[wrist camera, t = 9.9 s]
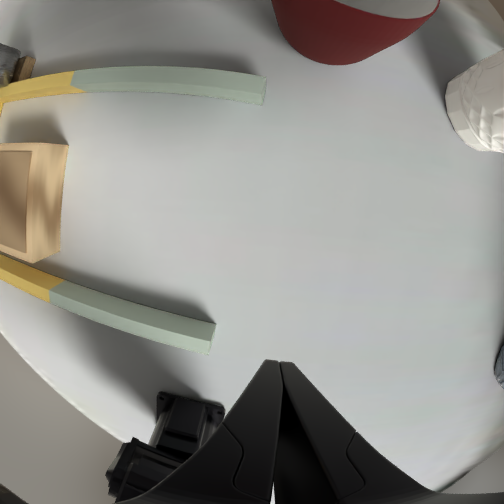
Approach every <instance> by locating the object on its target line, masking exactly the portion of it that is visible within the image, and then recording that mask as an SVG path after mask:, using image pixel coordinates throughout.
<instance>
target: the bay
mask: <svg viewBox="0 0 504 504" xmlns="http://www.w3.org/2000/svg"><path fill="white" fill-rule="evenodd" d="M265 90H266V77H263V76H257V75H252V74H245V73H239V72H232V71H224V70H215V69H205V68H193V67H176V66H121V67H105V68H94V69H84V70H76V71H69V72H62V73H56V74H50V75H45V76H40V77H35V78H31V79H26V80H22V81H18V82H14V83H10V84H8V86H6V87H3V88H0V115H1V111H2V107H3V103H6V102H11V101H16V100H22V99H28V98H35V97H42V96H50V95H59V94H70V93H83V92H108V91H136V92H161V93H176V94H188V95H198V96H206V97H214V98H222V99H228V100H235V101H241V102H247V103H252V104H258V105H262V103H263V99H264V94H265ZM0 279H1V280H3V281H5V282H7V283H9V284H11V285H13V286H15V287H17V288H19V289H21V290H23V291H25V292H27V293H29V294H31V295H33V296H35V297H38V298H40V299H42V300H44V301H46V302H49V303H51V304H53V305H56V306H58V307H60V308H63V309H65V310H68V311H70V312H72V313H75V314H77V315H80V316H83V317H85V318H88V319H90V320H93V321H96V322H98V323H101V324H104V325H107V326H110V327H113V328H115V329H118V330H121V331H124V332H127V333H130V334H133V335H137V336H140V337H143V338H146V339H150V340H153V341H156V342H160V343H163V344H167V345H170V346H174V347H178V348H182V349H185V350H189V351H193V352H197V353H201V354H205V355H208V354H209V351H210V348H211V345H212V341H213V338H214V333H215V328H216V324H213V323H209V322H204V321H200V320H196V319H192V318H188V317H184V316H180V315H176V314H173V313H169V312H165V311H161V310H158V309H154V308H151V307H147V306H144V305H140V304H137V303H133V302H130V301H127V300H123V299H120V298H117V297H114V296H111V295H107V294H104V293H101V292H98V291H95V290H92V289H89V288H86V287H83V286H80V285H78V284H75V283H72V282H69V281H66V280H64V279H61V278H58V277H55V276H53V275H50V274H48V273H45V272H42V271H40V270H37V269H35V268H32V267H30V266H27V265H25V264H23V263H20V262H18V261H15V260H13V259H11V258H8V257H6V256H4V255H2V254H0Z"/></svg>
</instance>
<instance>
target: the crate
mask: <svg viewBox="0 0 504 504" xmlns="http://www.w3.org/2000/svg"><path fill="white" fill-rule="evenodd" d="M68 148H69V145H61V144H50V143H1V144H0V251H2V252H4V253H7V254H9V255H12V256H14V257H17V258H19V259H22V260H24V261H27V262H30V263H32V264H33V263H35V262H37V261H39V260H42V259H44V258H46V257H48V256H51V255H53V254H55V253H58V252H60V223H61V205H62V193H63V183H64V175H65V167H66V160H67V154H68Z"/></svg>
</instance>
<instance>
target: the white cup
mask: <svg viewBox="0 0 504 504" xmlns="http://www.w3.org/2000/svg"><path fill="white" fill-rule="evenodd" d="M445 101H446V107H447V114H448V116H449V118H450V120H451V123H452V125H453V127H454V130H455V131H456V133H457V134H458V135H459V136H460V138H461V139H462V140H463V141H464V143H465V144H466V145H468V146H470V147H472V148H474V149H475V150H477V151H497V152H501V153H504V49H503V50H501V51H499V52H497V53H495V54H493V55H491V56H489V57H487V58H485V59H483V60H482V61H480V62H478V63H477V64H475V65H473V66H472V67H470V68H468V69H467V71H465V72H463V73H461V74H459V75H457V76H456V77H455V78H453V79H452V80H451V81H450V82H449V83H448V85H447V90H446V94H445Z"/></svg>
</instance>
